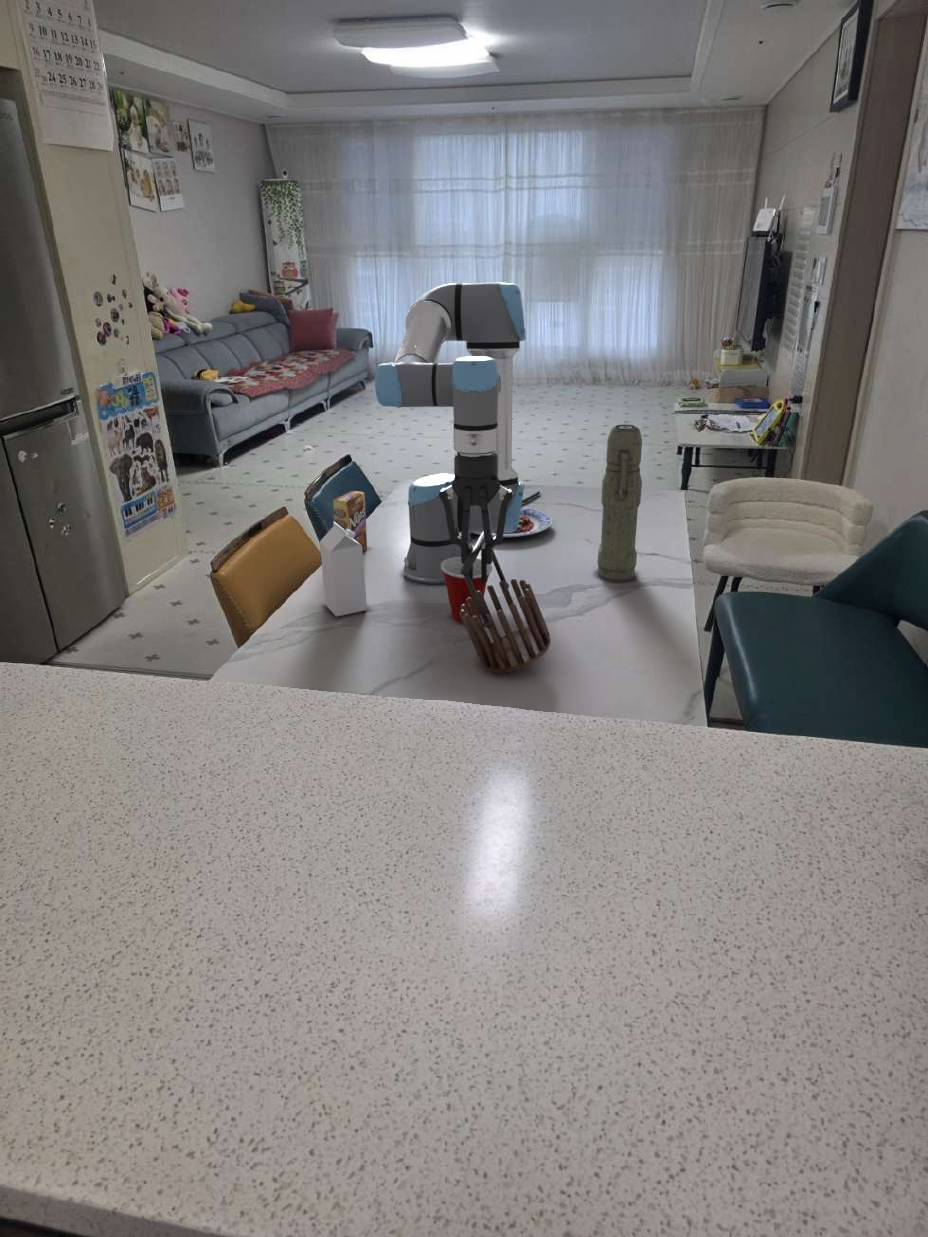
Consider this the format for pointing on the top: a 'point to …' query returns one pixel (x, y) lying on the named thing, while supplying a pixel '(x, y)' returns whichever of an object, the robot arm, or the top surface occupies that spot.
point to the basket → (504, 622)
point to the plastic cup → (462, 584)
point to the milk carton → (343, 572)
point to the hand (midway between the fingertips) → (477, 579)
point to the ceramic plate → (529, 523)
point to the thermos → (620, 504)
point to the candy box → (352, 515)
